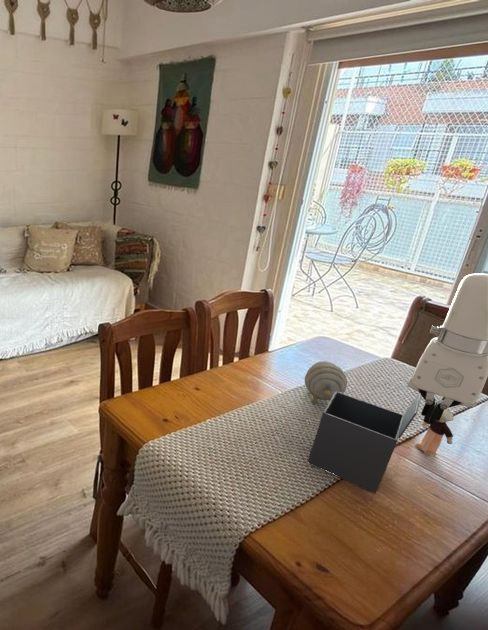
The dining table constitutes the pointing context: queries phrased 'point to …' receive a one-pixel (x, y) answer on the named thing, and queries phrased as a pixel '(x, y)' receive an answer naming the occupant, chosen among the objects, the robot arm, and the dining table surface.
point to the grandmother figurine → (436, 434)
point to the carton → (356, 440)
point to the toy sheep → (325, 380)
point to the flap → (410, 414)
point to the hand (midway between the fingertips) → (428, 420)
